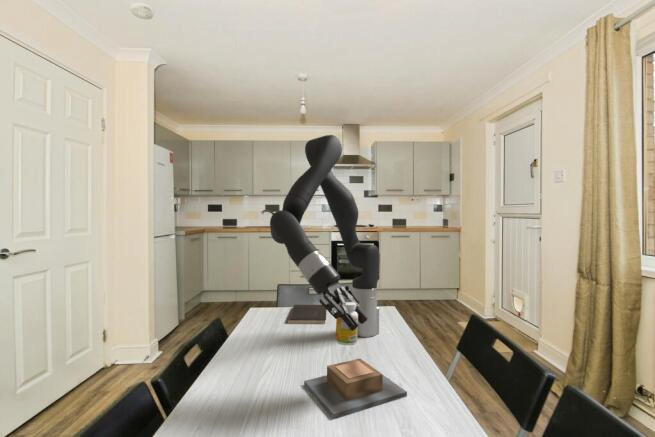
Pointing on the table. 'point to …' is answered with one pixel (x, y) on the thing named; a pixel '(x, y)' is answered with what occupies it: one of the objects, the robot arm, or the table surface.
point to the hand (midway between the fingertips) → (360, 324)
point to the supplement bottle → (343, 331)
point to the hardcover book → (307, 314)
